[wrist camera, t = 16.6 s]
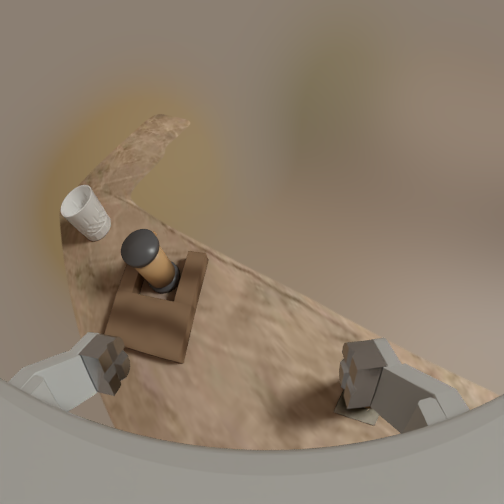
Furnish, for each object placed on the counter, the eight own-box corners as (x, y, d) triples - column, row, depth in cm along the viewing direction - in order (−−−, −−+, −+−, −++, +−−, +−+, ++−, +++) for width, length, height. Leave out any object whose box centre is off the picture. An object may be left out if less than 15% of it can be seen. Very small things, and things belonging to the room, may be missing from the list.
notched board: (183, 363, 38) (178, 361, 36) (110, 342, 40) (103, 338, 38) (208, 260, 47) (205, 253, 44) (139, 250, 49) (134, 244, 46)
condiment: (394, 375, 35) (434, 366, 24) (373, 425, 31) (409, 434, 21) (355, 361, 37) (385, 348, 26) (332, 411, 33) (356, 419, 23)
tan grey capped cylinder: (175, 296, 44) (149, 267, 34) (145, 290, 45) (115, 262, 35) (185, 259, 47) (165, 223, 37) (157, 255, 48) (132, 221, 38)
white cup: (79, 240, 51) (54, 214, 43) (95, 211, 55) (74, 183, 46) (102, 247, 50) (76, 219, 41) (119, 216, 53) (98, 186, 45)
